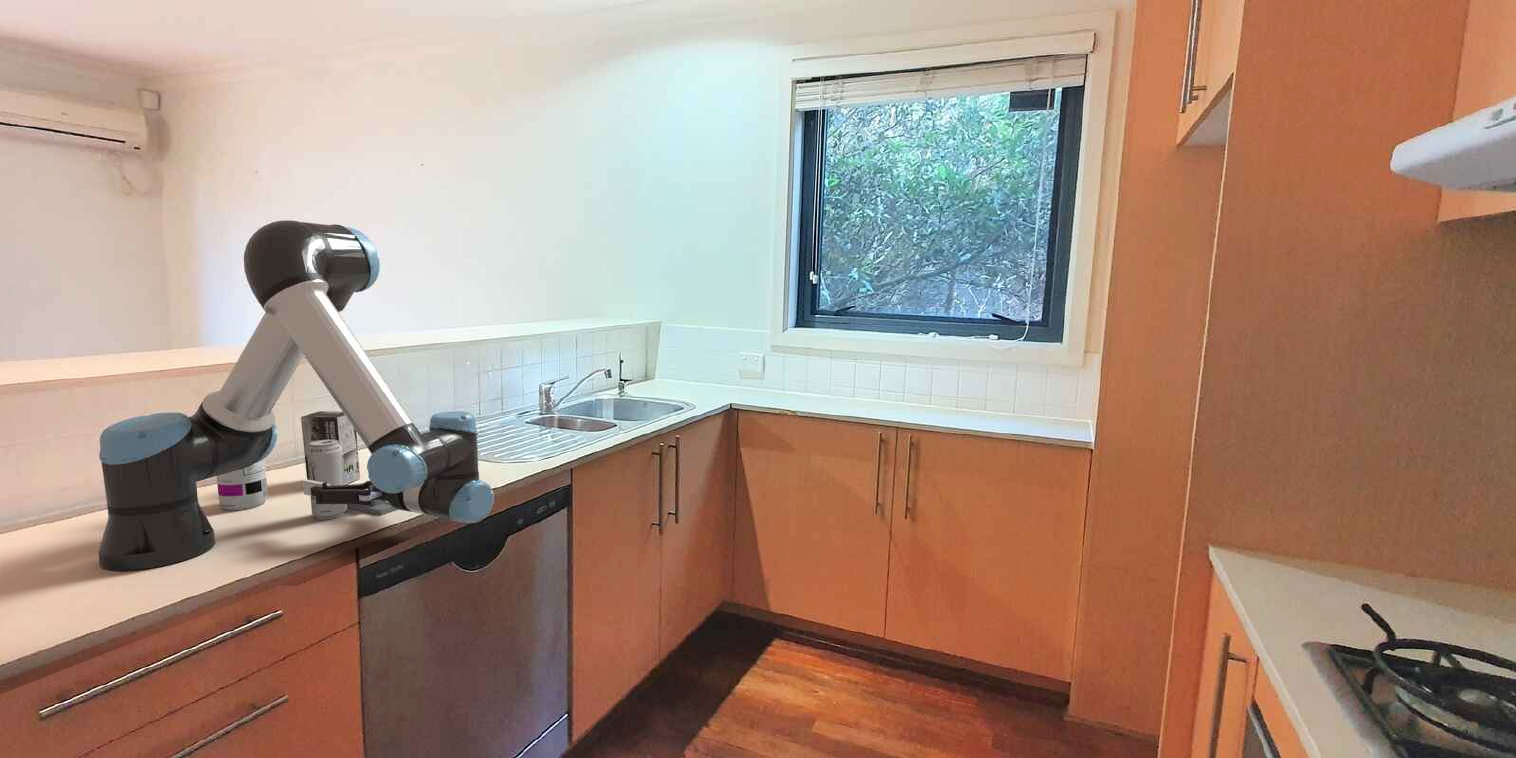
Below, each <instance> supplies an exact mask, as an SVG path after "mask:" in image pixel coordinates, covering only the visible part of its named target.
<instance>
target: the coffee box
mask: <svg viewBox="0 0 1516 758" xmlns="http://www.w3.org/2000/svg"><path fill="white" fill-rule="evenodd" d="M300 421H301V433H302V441H303V443H302V444H303V453H304V462H305V471H306V474H305V475H306V480H309V472H308V460H307V451H308V449H309V447H310V443H311V442H314V441H319V440H338V441H339V442H338V443H339V445H340V446H341V447H342V449H343V460H344V474H345V485H349V484H351V483H353V482H355V481H358V480H360V479H361V475H360V463H359V461H360V459H359V448H358V436H357V435H358V433H357V432H356V430H355V429H354V427H353V426H352V424H351V423H350V422H349V420H348V419H347V417H346V416H345V414H344V413H343V411H331V410H330V411H329V410H327V411H322V410H320V411H317V412H316V411H315V412H312V413H309V414H307V415H302V416H300Z"/></svg>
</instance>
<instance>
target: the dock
mask: <svg viewBox="0 0 1516 758" xmlns="http://www.w3.org/2000/svg"><path fill="white" fill-rule="evenodd" d="M365 482H366V481H365ZM365 482H361V483H360V484H364V483H365ZM370 491H371V492H373V485H370ZM371 503H372V504H370V505H361V504H347V510H348V509H349V510H355V511H359V512H365V513H369V514H373V515H378V516H384V515H386V514H389V513H391V512H395V511H398V510H399V509H396V508H394V507H392V506H391V505H390V503H389V502H388V501H387V500H385V501H382V500H371Z"/></svg>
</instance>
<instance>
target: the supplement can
mask: <svg viewBox="0 0 1516 758" xmlns="http://www.w3.org/2000/svg"><path fill="white" fill-rule="evenodd" d="M265 461H266V460H265V458H264V459H263V460H261V461H259V462H257V463H255V464H253V465H251V466H249V467H247V468H244V469H240V470H236V471H232V472H229V473H225V474H222V475H218V476H215V477H216V483H217V484H216V485H217V494H218V495H217V496H218V503H219V504H218V505H219V507H220V508H223V510H225V509H226V510H225V511H241V510H247V509H253V508H256V507H260V506H262V505H264V504H265V503H266V501H267V500H268V499H269V494H268V484H267V483H268V481H267V474H266V472H267V470H266V462H265Z"/></svg>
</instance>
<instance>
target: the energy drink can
mask: <svg viewBox="0 0 1516 758" xmlns="http://www.w3.org/2000/svg"><path fill="white" fill-rule="evenodd" d="M338 442H339V441H338V440H319V441H314V442H311V443H310V447H309V449H308V451H307V460H308V472H309V480H312V481H318V482H323V483H325V482H327V483H328V484H330V485H331V486H337V485H345V474H344V460H343V449H342V447H341V446H340V445H339V443H338ZM310 505H311V506H310V507H311V515H312V516H315V519H316V520H320V521H321V520H323V521H326V520H333V519H337V518H340V517H343V516H344V515H345V512H346V511H347V510H348V508H347V504H316V497H314V496H310Z"/></svg>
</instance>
